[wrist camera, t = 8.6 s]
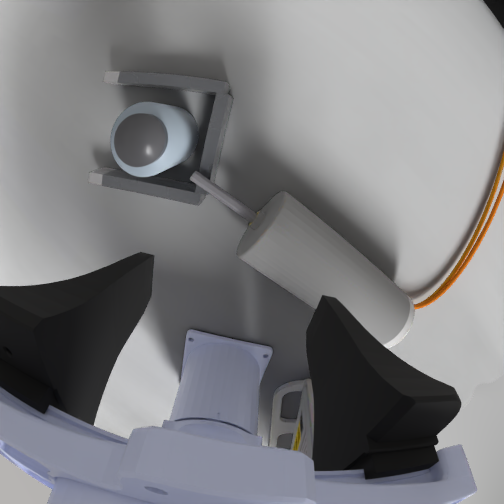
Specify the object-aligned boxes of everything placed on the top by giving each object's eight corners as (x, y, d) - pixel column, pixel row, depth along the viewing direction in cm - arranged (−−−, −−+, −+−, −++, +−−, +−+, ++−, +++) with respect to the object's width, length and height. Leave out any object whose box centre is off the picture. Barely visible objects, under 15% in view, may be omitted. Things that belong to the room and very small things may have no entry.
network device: (321, 459, 36) (329, 563, 18) (267, 461, 37) (264, 567, 19) (362, 355, 26) (410, 544, 8) (275, 358, 26) (274, 568, 8)
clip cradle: (210, 198, 20) (204, 207, 18) (103, 177, 20) (88, 182, 18) (236, 87, 17) (232, 82, 15) (119, 75, 16) (105, 71, 14)
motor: (382, 345, 25) (406, 376, 20) (177, 203, 20) (160, 216, 15) (503, 164, 20) (537, 170, 15) (357, -8, 15) (382, -35, 10)
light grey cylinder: (186, 174, 20) (161, 190, 15) (133, 156, 19) (96, 167, 14) (207, 115, 18) (187, 112, 13) (151, 99, 17) (116, 93, 13)
